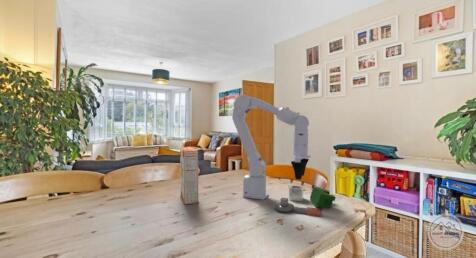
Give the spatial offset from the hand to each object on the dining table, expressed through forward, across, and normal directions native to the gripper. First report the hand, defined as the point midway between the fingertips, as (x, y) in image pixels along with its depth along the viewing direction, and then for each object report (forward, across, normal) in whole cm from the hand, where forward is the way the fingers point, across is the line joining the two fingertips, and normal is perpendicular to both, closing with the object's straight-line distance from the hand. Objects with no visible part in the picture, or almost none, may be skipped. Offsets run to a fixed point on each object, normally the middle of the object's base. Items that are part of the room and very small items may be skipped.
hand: (299, 177), depth 105 cm
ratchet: (+9, -15, -2) cm, 17 cm away
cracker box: (+10, -18, +42) cm, 47 cm away
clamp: (+10, -2, -9) cm, 14 cm away
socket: (+9, 0, +1) cm, 9 cm away
